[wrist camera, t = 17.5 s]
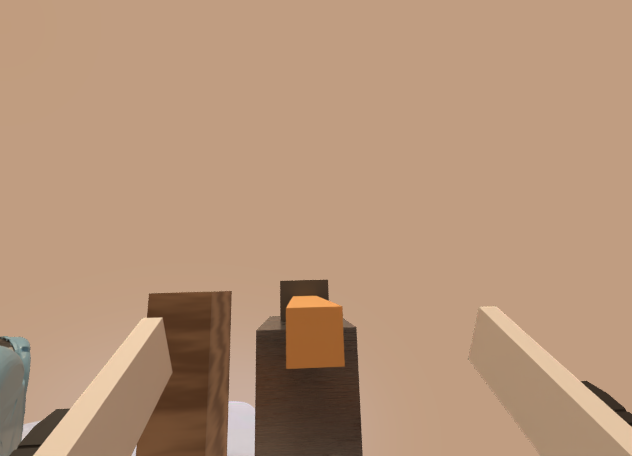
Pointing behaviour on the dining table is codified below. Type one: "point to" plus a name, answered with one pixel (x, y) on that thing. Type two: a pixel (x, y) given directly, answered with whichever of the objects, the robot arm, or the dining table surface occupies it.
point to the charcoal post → (305, 400)
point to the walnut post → (192, 376)
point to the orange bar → (311, 325)
